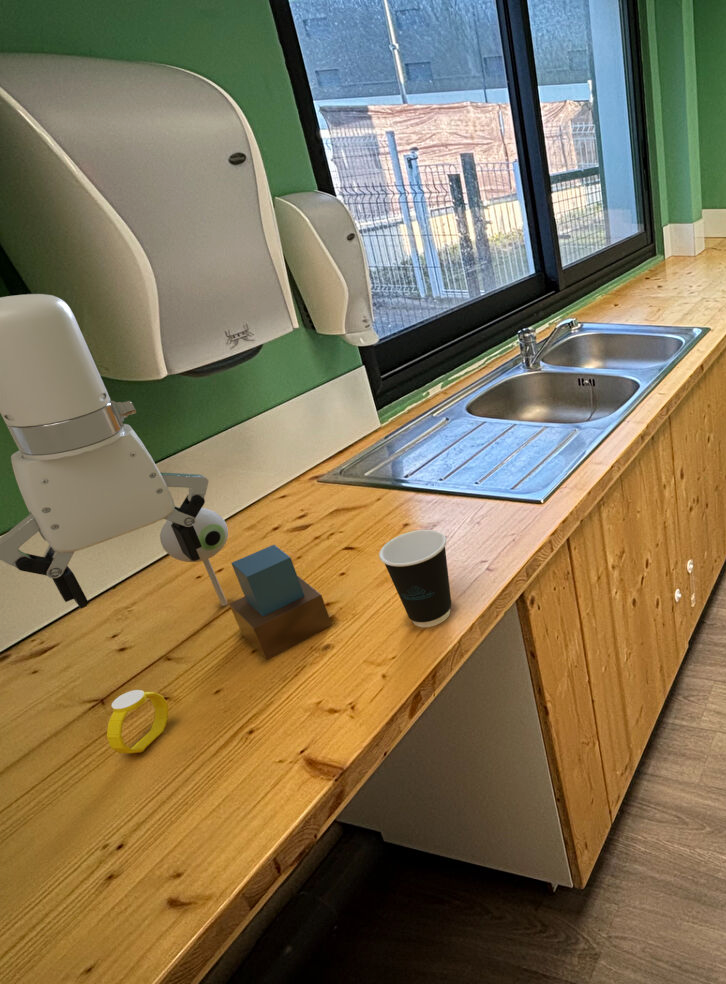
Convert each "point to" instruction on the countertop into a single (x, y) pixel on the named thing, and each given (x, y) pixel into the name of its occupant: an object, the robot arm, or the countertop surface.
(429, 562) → the dixie cup
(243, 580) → the top block
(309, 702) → the countertop surface
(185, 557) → the lollipop
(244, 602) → the base block
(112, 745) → the watch
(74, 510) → the robot arm
